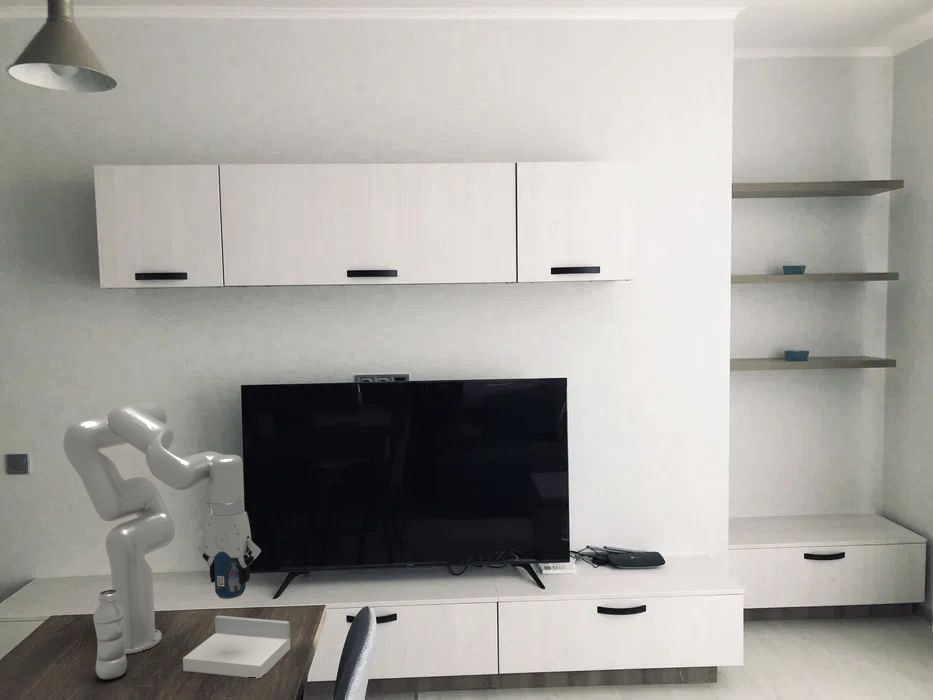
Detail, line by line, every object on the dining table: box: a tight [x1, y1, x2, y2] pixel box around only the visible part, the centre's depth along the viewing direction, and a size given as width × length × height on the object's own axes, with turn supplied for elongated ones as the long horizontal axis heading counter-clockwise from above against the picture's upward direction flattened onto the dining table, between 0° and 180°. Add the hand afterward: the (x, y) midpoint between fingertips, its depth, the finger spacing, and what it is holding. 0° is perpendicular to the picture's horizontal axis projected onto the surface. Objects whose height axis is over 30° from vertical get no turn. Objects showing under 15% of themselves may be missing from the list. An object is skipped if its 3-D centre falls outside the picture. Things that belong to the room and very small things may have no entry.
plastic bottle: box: [92, 588, 128, 680], centre depth 167 cm, size 6×7×20 cm
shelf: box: [182, 615, 291, 679], centre depth 175 cm, size 20×15×7 cm
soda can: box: [214, 549, 247, 600], centre depth 171 cm, size 7×7×12 cm
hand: (230, 580), depth 171 cm, fingers closed on soda can, 7 cm apart
